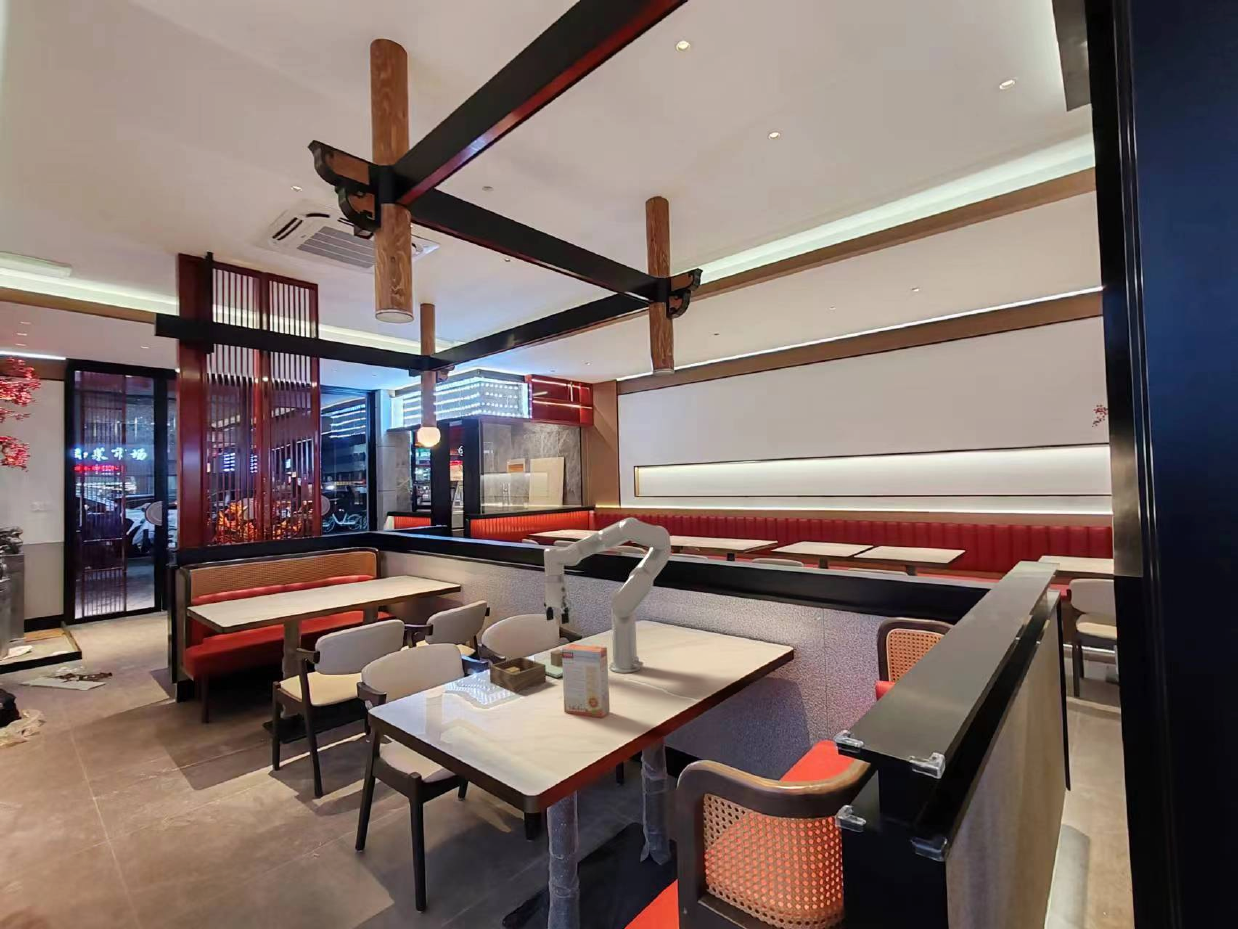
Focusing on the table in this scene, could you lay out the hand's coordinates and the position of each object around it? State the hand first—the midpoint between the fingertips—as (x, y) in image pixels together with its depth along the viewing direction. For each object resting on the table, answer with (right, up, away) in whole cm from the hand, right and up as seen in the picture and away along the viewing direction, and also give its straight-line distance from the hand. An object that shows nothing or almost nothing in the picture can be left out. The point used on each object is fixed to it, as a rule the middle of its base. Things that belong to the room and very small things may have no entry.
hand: (557, 621), depth 221 cm
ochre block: (-16, -19, -11) cm, 27 cm away
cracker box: (+14, -18, -42) cm, 47 cm away
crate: (-13, -20, -14) cm, 27 cm away
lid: (0, -18, -1) cm, 18 cm away
